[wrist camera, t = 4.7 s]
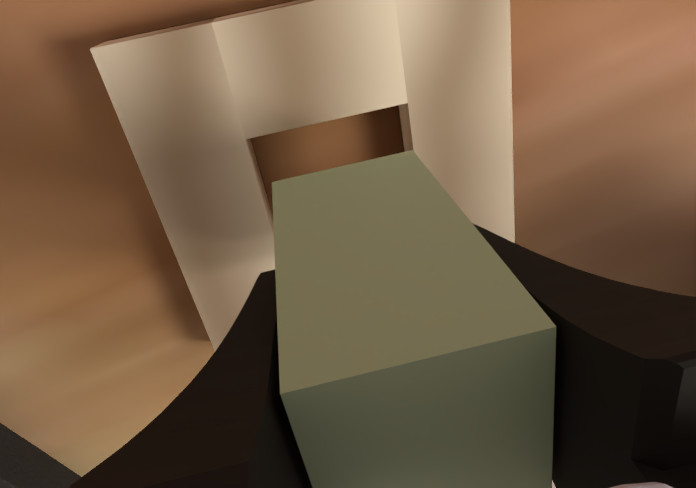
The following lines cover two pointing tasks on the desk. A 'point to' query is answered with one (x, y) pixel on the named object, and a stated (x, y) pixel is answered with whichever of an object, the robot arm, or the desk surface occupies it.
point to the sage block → (406, 337)
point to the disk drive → (29, 465)
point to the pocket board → (306, 116)
